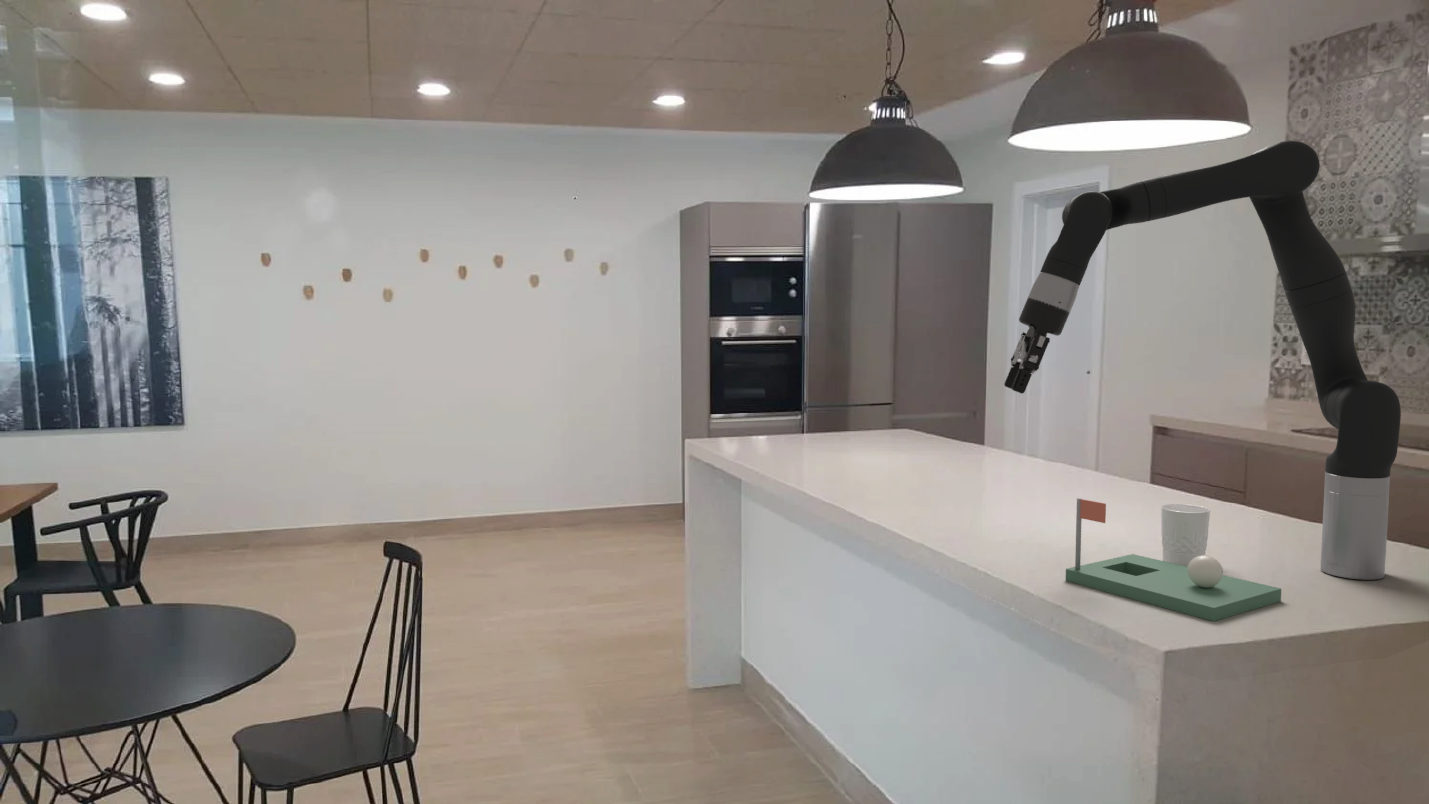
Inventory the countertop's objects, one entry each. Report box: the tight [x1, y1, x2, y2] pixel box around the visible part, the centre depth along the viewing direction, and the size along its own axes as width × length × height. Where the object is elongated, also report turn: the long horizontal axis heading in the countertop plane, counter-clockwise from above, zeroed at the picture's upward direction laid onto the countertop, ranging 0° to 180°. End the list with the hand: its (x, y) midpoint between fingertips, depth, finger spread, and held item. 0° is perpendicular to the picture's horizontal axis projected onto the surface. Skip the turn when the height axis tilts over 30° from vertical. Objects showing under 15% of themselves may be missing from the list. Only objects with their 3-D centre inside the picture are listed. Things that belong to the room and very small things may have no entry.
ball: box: [1187, 554, 1224, 588], centre depth 152 cm, size 5×5×5 cm
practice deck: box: [1065, 498, 1282, 622], centre depth 157 cm, size 18×26×14 cm
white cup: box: [1160, 503, 1211, 567], centre depth 174 cm, size 8×8×10 cm
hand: (1013, 389), depth 172 cm, fingers open, 8 cm apart
